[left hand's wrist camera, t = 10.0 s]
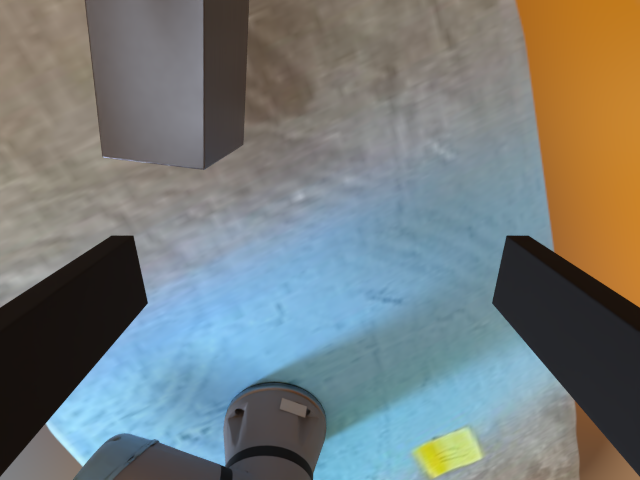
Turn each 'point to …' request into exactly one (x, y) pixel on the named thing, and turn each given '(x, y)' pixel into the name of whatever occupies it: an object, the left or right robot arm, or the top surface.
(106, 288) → the left robot arm
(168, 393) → the top surface
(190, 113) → the bar
